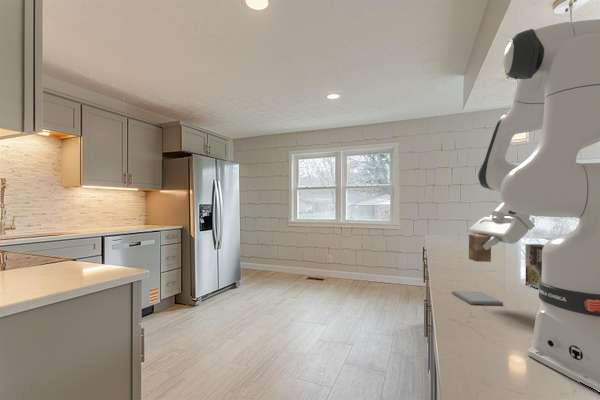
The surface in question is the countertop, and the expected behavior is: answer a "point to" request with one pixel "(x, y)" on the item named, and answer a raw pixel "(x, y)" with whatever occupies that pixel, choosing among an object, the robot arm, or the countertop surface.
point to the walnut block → (479, 248)
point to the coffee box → (533, 264)
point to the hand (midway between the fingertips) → (477, 246)
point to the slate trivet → (477, 298)
